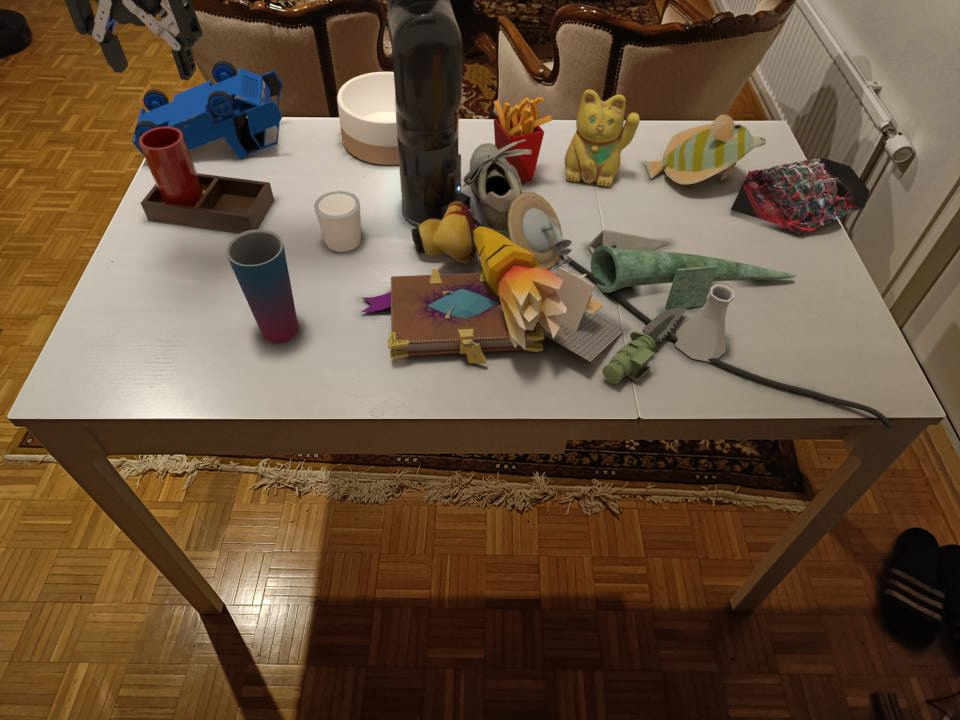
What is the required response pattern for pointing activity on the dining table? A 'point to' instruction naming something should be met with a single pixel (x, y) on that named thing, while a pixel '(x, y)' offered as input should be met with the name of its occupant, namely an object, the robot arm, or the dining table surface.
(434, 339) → the book
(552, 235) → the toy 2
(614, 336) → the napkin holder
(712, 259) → the decorative horn
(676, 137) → the decorative fish sculpture
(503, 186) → the shoe
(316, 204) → the shot glass
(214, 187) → the caddy
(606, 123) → the figurine
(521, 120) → the french fries
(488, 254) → the torch
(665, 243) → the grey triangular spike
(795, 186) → the fabric swatch
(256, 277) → the cup
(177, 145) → the tumbler
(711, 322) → the flask
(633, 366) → the knife
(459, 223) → the toy
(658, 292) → the dining table surface
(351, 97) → the bowl
